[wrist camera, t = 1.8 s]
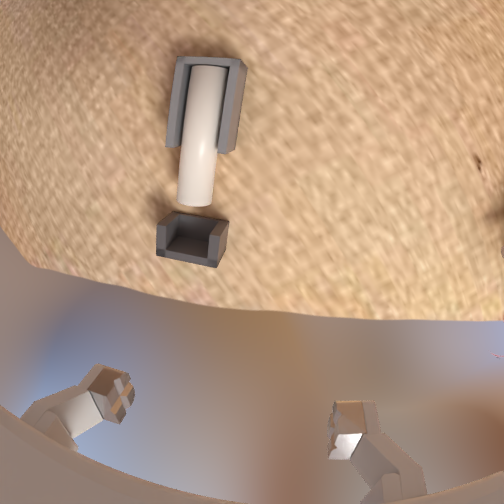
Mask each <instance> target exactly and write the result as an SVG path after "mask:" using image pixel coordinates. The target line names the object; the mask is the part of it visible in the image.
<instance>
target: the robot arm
mask: <svg viewBox="0 0 504 504" xmlns="http://www.w3.org/2000/svg"><path fill="white" fill-rule="evenodd" d="M130 379H131V378H130V376H129V374H128V373H126V372H123V371H120V370H117V369H114V368H110V367H107V366H104V365H101V364H96V365H94V367H93V368H92V369H91V370H90V372H89V373H88V374H87V375H86V376H85V377H84V379H83V380H82V381H81V382H80V384H79V385H78V386H72V387H70V388H67V389H65V390H62V391H60V392H58V393H55V394H52V395H50V396H48V397H45V398H42V399H40V400H37V401H34V402H33V404H32V405H31V406H30V407H29V408H28V410H27V411H26V412H25V413H24V414H23V416H22V417H21V418H20V419H19V418H18V417H16V416H15V415H13V414H12V413H11V412H9V411H8V410H6V409H5V408H4V407H2V406H1V405H0V504H247V503H239V502H233V501H227V500H221V499H216V498H210V497H206V496H201V495H196V494H192V493H187V492H183V491H180V490H176V489H172V488H168V487H165V486H162V485H159V484H155V483H152V482H149V481H146V480H143V479H140V478H137V477H134V476H132V475H128V474H126V473H124V472H121V471H118V470H116V469H113V468H111V467H108V466H106V465H104V464H101V463H99V462H97V461H95V460H92V459H90V458H88V457H86V456H84V455H82V454H80V453H78V452H77V450H78V446H77V444H76V443H75V442H74V440H73V438H75V437H76V436H78V435H80V434H81V433H83V432H85V431H86V430H88V429H90V428H91V427H93V426H94V425H96V424H98V423H99V422H101V421H102V420H103V419H105V420H108V421H111V422H114V423H117V424H120V423H121V422H122V420H123V418H124V417H125V415H126V410H125V409H126V408H128V407H130V406H131V405H132V403H133V401H134V396H135V391H134V387H133V386H132V385H131V384H130V383H129V381H130ZM327 435H328V437H329V439H330V441H329V443H328V459H350V461H351V463H352V464H353V466H354V467H355V468H356V470H357V471H358V472H359V474H360V475H361V476H362V478H363V479H364V480H365V482H366V483H367V484H368V486H369V487H370V488H371V490H370V492H368V494H367V495H366V496H365V497H364V498H363V499H362V500H361V501H360V502H361V504H504V471H501V472H497V473H495V474H492V475H490V476H487V477H485V478H482V479H479V480H476V481H474V482H471V483H468V484H465V485H461V486H458V487H455V488H452V489H448V490H444V491H441V492H437V493H433V494H429V495H427V489H426V484H425V479H424V475H423V470H422V467H421V466H420V465H419V464H417V463H416V462H415V461H414V460H413V459H412V458H411V457H409V455H408V454H406V453H405V452H404V451H403V450H402V449H401V448H400V447H399V446H398V445H397V444H396V443H395V442H394V441H393V440H392V439H391V438H390V437H389V436H387V435H386V434H385V433H381V429H380V424H379V419H378V414H377V409H376V404H375V402H374V400H370V401H335V402H334V404H333V413H331V414H330V417H329V421H328V429H327Z"/></svg>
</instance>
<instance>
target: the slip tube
mask: <svg viewBox="0 0 504 504" xmlns="http://www.w3.org/2000/svg"><path fill="white" fill-rule="evenodd" d="M228 76H229V69H226V68H222V67H216V66H205V65H198V66H192V69H191V76H190V82H189V89H188V95H187V103H186V110H185V118H184V126H183V134H182V143H181V153H180V163H179V175H178V187H177V202H179V203H180V204H183V205H187V206H207V205H210V204H211V203H212V194H213V185H214V177H215V169H216V161H217V150H218V143H219V135H220V128H221V121H222V114H223V107H224V101H225V94H226V88H227V82H228Z"/></svg>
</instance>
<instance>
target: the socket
mask: <svg viewBox="0 0 504 504" xmlns="http://www.w3.org/2000/svg"><path fill="white" fill-rule="evenodd" d="M228 227H229V221H224V220H218V219H213V218H207V217H201V216H196V215H190V214H184V213H178V212H173V211H172V212H171V213H170V214H169V215H168V216H166V217H165V218H164V219H163V220H162V221H160V222H159V223H158V224H157V234H156V256H161V257H166V258H170V259H175V260H180V261H185V262H189V263H194V264H199V265H204V266H208V267H213V268H217V266H218V264H219V262H220V260H221V258H222V256H223V254H224V252H225V250H226V243H227V235H228Z"/></svg>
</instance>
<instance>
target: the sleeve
mask: <svg viewBox="0 0 504 504" xmlns="http://www.w3.org/2000/svg"><path fill="white" fill-rule="evenodd" d="M198 65H205V66H216V67H222V68H226V69H229V76H228V82H227V88H226V94H225V101H224V107H223V114H222V121H221V128H220V135H219V143H218V150H217V153H221V154H227V153H229V152H231V151H233V150H235V146H236V139H237V132H238V125H239V119H240V112H241V106H242V100H243V93H244V87H245V81H246V75H247V69H248V68H247V66H246V65H245V64H244V63H243V62H242V61H241V59H231V58H216V57H185V56H177V61H176V67H175V73H174V80H173V87H172V94H171V101H170V109H169V117H168V126H167V135H166V146H165V147H170V148H174V147H178V146H181V143H182V134H183V126H184V118H185V110H186V103H187V95H188V89H189V82H190V76H191V69H192V66H198Z"/></svg>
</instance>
